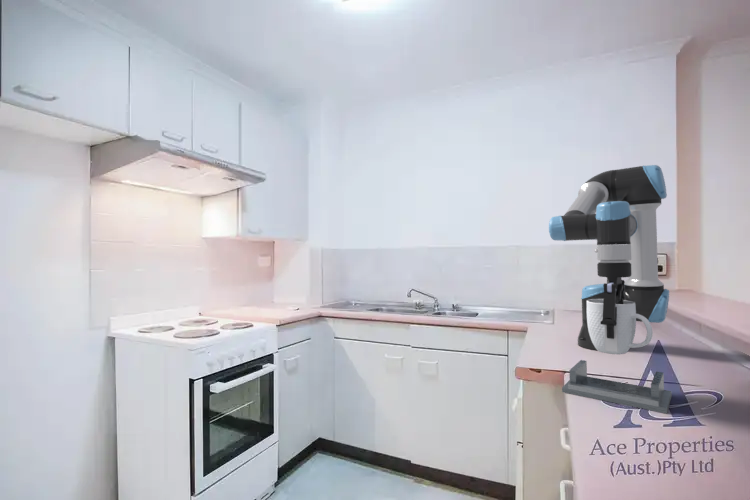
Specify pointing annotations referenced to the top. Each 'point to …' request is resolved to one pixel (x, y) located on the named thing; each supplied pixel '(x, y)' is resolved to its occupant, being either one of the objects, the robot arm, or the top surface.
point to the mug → (624, 322)
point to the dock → (619, 390)
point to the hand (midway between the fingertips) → (615, 346)
